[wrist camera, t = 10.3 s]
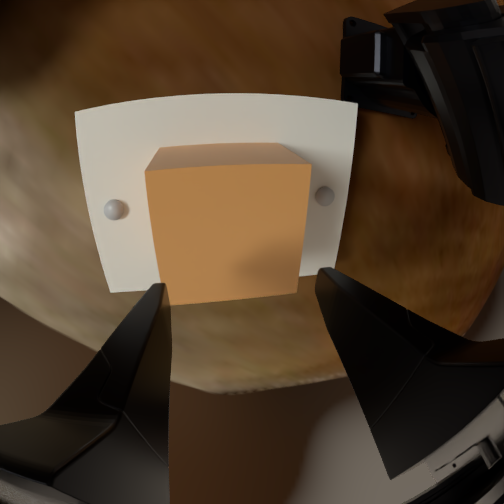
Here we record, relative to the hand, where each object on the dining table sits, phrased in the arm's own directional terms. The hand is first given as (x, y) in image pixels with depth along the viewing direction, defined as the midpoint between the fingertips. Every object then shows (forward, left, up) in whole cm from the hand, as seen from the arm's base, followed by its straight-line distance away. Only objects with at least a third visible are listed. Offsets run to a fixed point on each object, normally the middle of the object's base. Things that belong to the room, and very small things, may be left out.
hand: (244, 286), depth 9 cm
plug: (0, 0, -10) cm, 10 cm away
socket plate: (0, 0, -10) cm, 10 cm away
